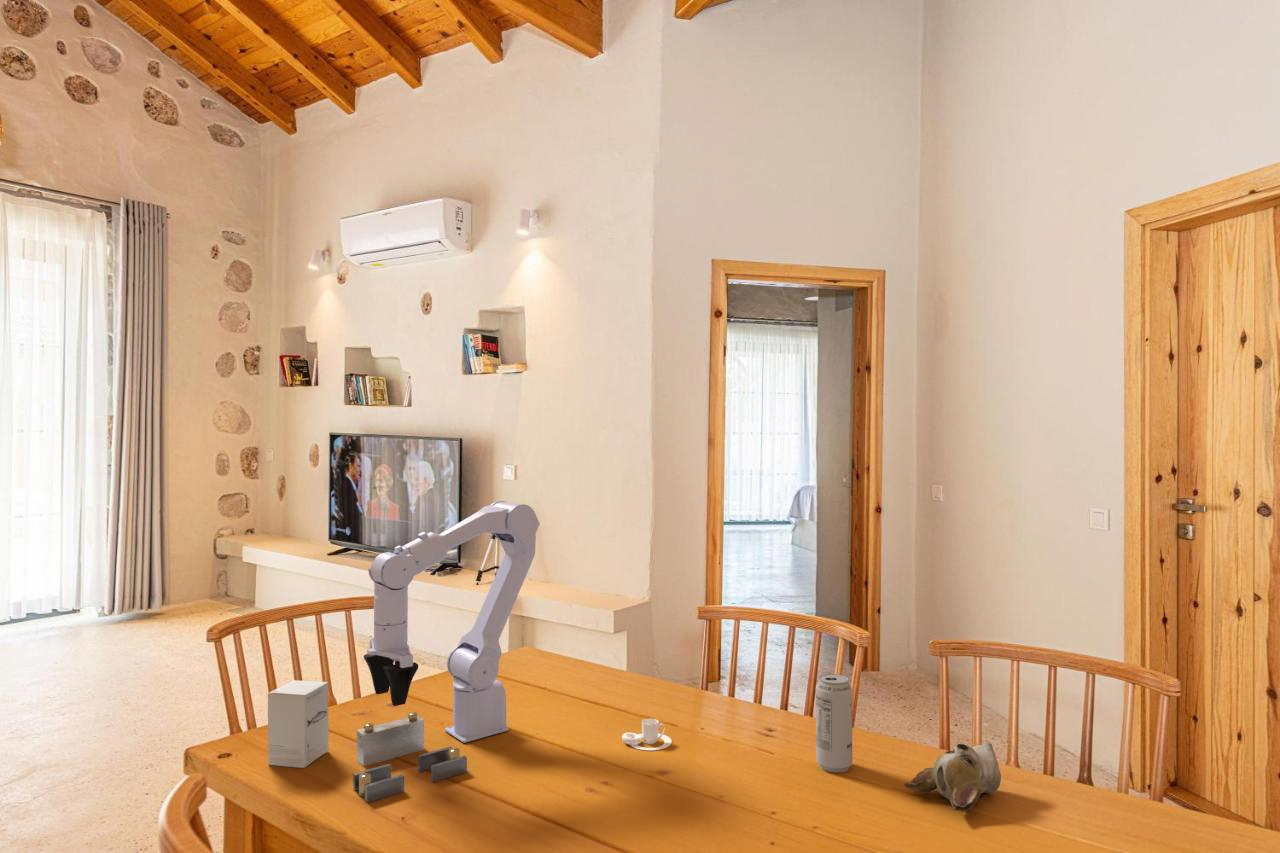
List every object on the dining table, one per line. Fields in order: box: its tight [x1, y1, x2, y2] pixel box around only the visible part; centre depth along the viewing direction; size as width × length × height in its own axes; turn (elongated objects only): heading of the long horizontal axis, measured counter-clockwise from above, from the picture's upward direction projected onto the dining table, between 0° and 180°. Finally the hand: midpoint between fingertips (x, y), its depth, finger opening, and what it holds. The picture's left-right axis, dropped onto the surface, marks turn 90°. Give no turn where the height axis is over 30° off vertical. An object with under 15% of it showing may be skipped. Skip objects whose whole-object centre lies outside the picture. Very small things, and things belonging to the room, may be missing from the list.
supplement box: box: [267, 679, 329, 769], centre depth 144 cm, size 7×7×13 cm
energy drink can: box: [815, 673, 853, 774], centre depth 139 cm, size 6×6×15 cm
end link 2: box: [417, 745, 468, 783], centre depth 138 cm, size 6×6×3 cm
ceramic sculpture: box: [903, 741, 1002, 812], centre depth 128 cm, size 11×9×15 cm
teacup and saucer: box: [621, 718, 673, 751], centre depth 150 cm, size 9×8×4 cm
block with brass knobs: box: [356, 711, 425, 767], centre depth 145 cm, size 11×3×6 cm, turn 129°
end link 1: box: [352, 763, 405, 804], centre depth 131 cm, size 6×6×3 cm
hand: (390, 698), depth 145 cm, fingers open, 7 cm apart
